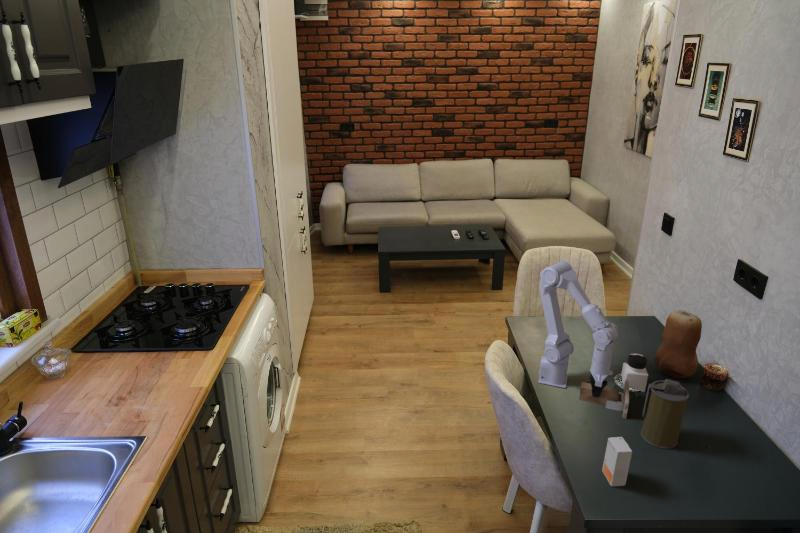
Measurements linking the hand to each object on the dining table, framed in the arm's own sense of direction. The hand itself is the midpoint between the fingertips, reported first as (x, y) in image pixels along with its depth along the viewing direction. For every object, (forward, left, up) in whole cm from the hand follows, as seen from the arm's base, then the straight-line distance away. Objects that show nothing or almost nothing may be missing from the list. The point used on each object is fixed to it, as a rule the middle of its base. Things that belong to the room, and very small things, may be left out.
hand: (595, 393), depth 182 cm
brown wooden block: (+1, 0, -3) cm, 3 cm away
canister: (+19, -13, -3) cm, 23 cm away
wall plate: (+9, 0, -3) cm, 10 cm away
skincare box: (+6, -36, -3) cm, 37 cm away
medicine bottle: (+12, +14, -3) cm, 19 cm away
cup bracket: (+6, 0, -3) cm, 7 cm away
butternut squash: (+26, +27, -3) cm, 38 cm away
